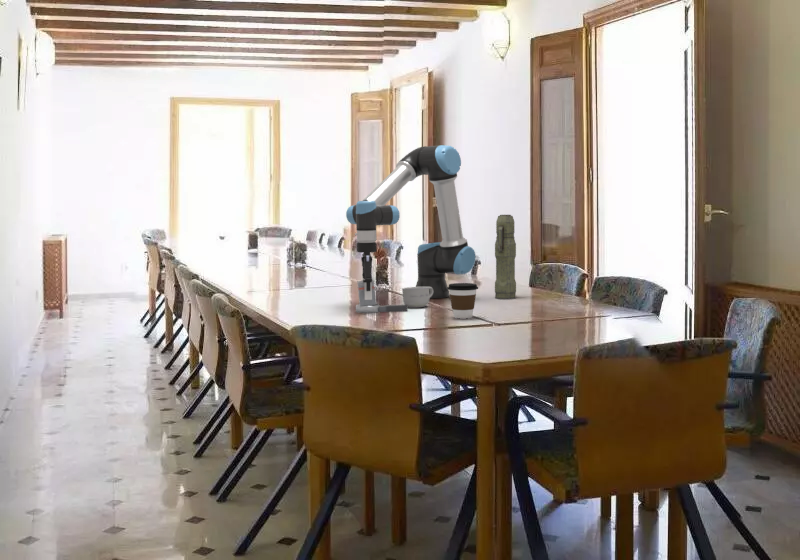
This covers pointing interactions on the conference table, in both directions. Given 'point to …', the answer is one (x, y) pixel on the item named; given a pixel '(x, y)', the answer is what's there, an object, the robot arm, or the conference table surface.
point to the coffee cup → (462, 299)
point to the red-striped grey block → (362, 294)
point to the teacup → (416, 296)
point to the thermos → (505, 258)
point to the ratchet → (380, 308)
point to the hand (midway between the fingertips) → (367, 297)
